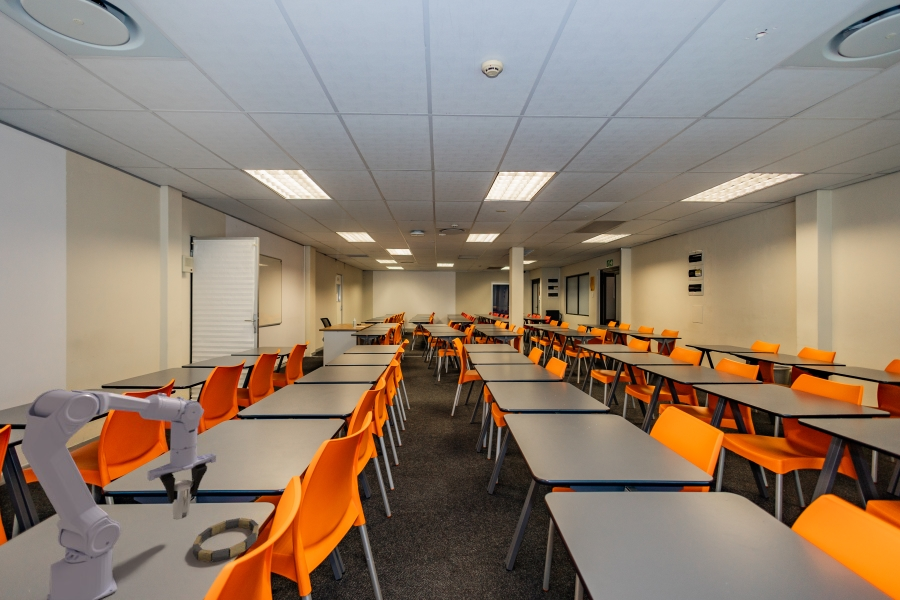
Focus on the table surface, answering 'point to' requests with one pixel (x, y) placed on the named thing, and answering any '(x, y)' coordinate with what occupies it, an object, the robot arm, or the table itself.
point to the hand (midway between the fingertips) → (182, 497)
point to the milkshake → (182, 498)
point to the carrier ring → (228, 552)
